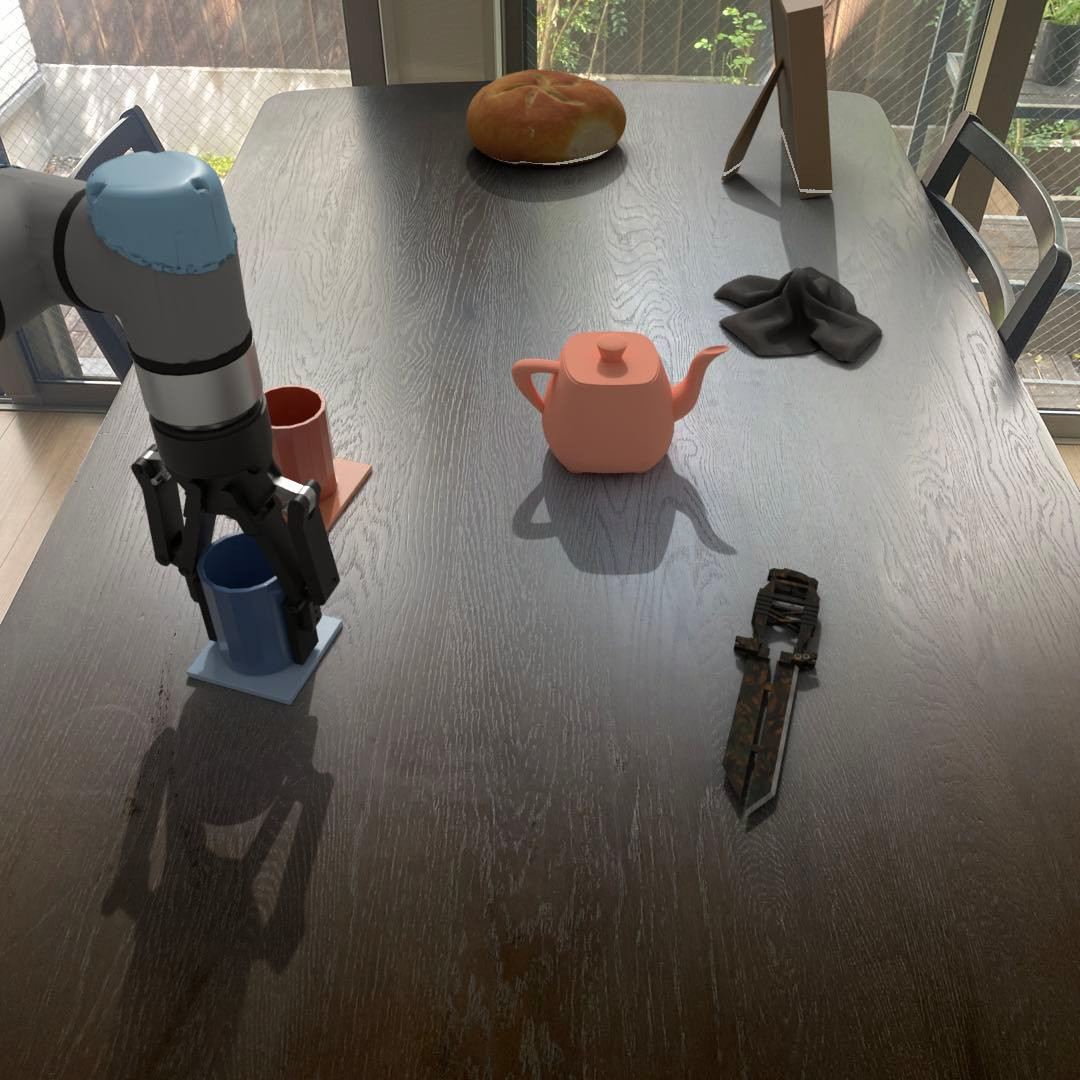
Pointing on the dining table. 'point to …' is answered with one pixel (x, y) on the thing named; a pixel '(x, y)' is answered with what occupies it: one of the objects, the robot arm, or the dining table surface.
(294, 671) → the blue pad
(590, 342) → the teapot
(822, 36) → the photo frame
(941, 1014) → the dining table surface
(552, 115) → the bread
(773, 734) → the knife
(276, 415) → the red cup
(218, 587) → the blue cup
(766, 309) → the cloth
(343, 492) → the red pad
